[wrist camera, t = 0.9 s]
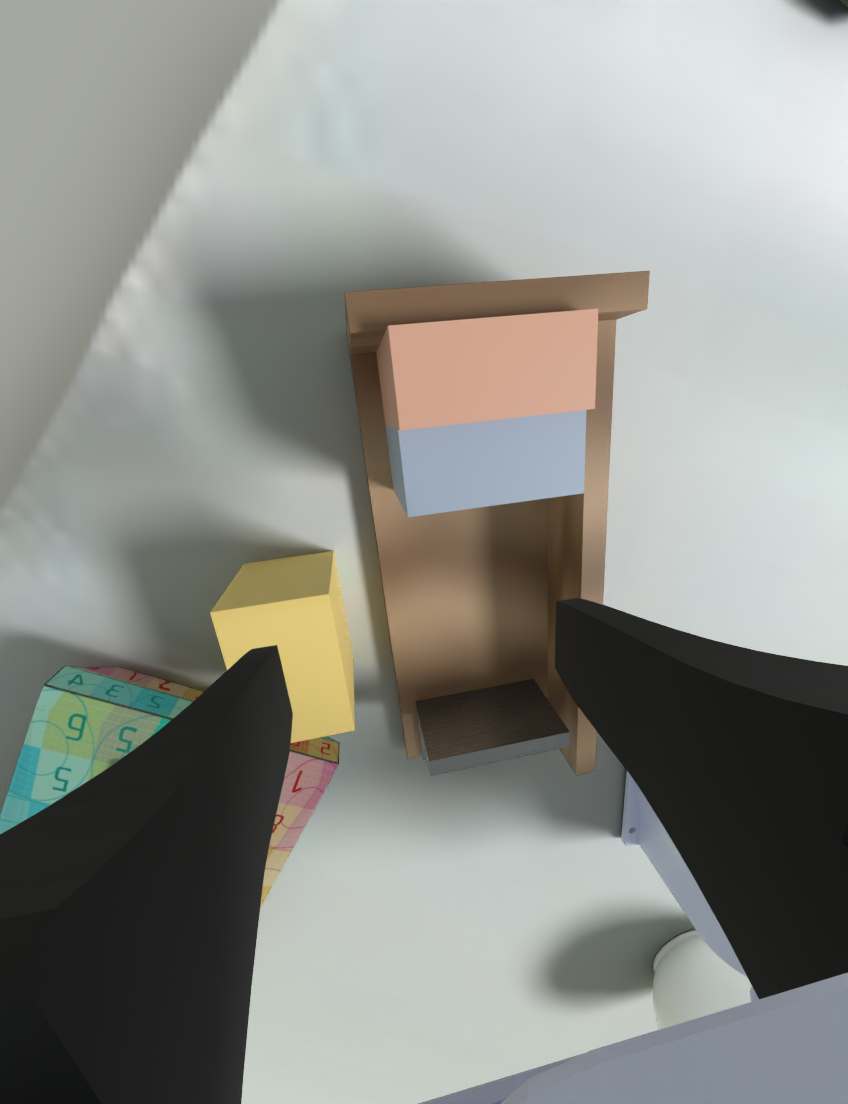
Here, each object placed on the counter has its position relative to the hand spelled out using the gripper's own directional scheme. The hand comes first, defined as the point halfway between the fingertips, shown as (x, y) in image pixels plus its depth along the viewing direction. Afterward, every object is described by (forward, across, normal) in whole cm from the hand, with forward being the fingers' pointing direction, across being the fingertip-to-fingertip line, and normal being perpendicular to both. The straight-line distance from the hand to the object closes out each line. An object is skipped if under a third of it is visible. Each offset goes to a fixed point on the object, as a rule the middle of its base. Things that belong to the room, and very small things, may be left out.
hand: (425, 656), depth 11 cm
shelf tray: (+10, -4, +1) cm, 10 cm away
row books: (+9, -3, -5) cm, 11 cm away
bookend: (+9, -4, +10) cm, 14 cm away
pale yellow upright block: (+10, +5, +3) cm, 11 cm away
